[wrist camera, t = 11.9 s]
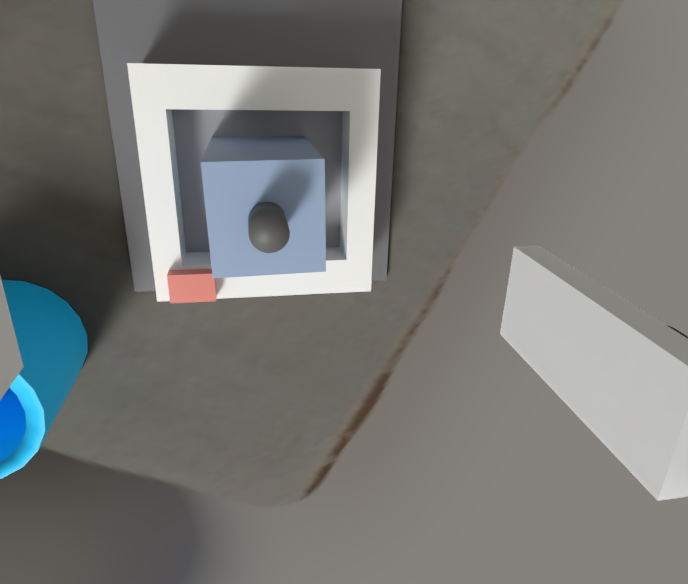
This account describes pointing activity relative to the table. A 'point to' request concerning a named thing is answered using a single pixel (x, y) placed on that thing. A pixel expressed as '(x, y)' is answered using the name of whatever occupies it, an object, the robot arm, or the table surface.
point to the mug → (38, 369)
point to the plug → (264, 206)
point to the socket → (250, 127)
